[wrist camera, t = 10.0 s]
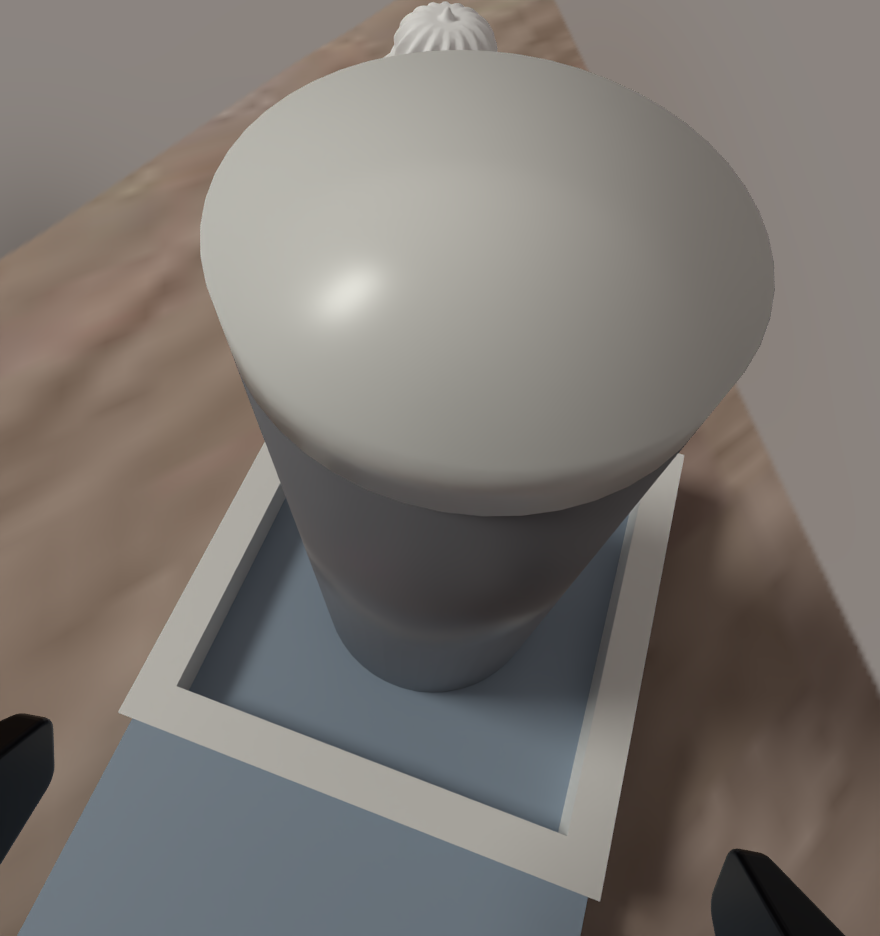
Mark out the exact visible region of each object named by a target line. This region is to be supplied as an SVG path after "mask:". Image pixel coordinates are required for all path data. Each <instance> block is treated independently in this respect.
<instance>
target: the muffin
mask: <svg viewBox="0 0 880 936" xmlns="http://www.w3.org/2000/svg"><path fill="white" fill-rule="evenodd" d="M394 44H395V45H394V46H393V48H392V50H391V52H390V54H388V55H387V56H385V57H384V58H386V57H390V56H395V55H401V54H409V53H417V52H425V51H443V50H476V51H493V52H497V44H496V40H495V37H494V33H493V30H492V29H491V27H490V25H489V23H488V22H487V21H486V20H485V19H484V18H483V17H482V16H480V15H479V14H478V13H477V12H476V11H475V10H474V9H472V8H469V7H464V6H463V5H462V4H460V3H455V4H449V3H448V2H446V1H444V2H442V3H441V4H438V3H434V2H431V3H429V4H428V6H419V7H417V8H415V10H414V11H413V12H412V13H410V14H408V15H406V16H405V17H404V18H403V20H402V21H401V23H400V28H399V29H398V30H397V32H396V33H395V35H394Z"/></svg>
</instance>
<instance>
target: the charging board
mask: <svg viewBox="0 0 880 936" xmlns="http://www.w3.org/2000/svg"><path fill="white" fill-rule="evenodd" d="M683 459H684V455H682V454H679V453H678V454H677V456H676V457H675V458H674V459H673V460H672V462H671V463H670V464H669V465H668V467H667V468H666V469H665V470H664V472H663V473H662V474H661V475H660V476H659V478H658V479H657V480H656V481H655V483H654V484H653V485H652V486H651V487H650V489H649V490H648V491H647V492H646V494H645V495H644V496H643V497H642V498H641V500H640V501H639V502H638V503H637V505H636V506H635V507H634V508H633V510H632V511H631V512H630V513H629V514H628V516H627V517H626V518H625V519H624V521H623V522H622V523H621V524H620V525H619V527H618V528H617V529H616V530H615V532H614V533H613V534H612V535H611V536H610V538H609V539H608V540H607V541H606V543H605V544H604V545H603V546H602V548H601V549H600V550H599V551H598V552H597V554H596V555H595V556H594V557H593V559H592V560H591V561H590V562H589V563H588V565H587V566H586V567H585V568H584V570H583V571H582V572H581V573H580V575H579V576H578V577H577V578H576V579H575V581H574V582H573V583H572V584H571V586H570V587H569V588H568V589H567V590H566V592H565V593H564V594H563V595H562V597H561V598H560V599H559V600H558V601H557V603H556V604H555V605H554V606H553V608H552V609H551V610H550V611H549V613H548V614H547V615H546V616H545V617H544V619H543V620H542V621H541V622H540V624H539V625H538V626H537V627H536V628H535V630H534V631H533V632H532V633H531V635H530V636H529V637H528V638H527V639H526V641H525V642H524V643H523V644H522V646H521V647H520V648H519V649H518V651H517V652H516V653H515V654H514V655H513V656H512V658H511V659H510V660H509V661H508V662H507V663H506V664H505V665H504V666H502V667H501V668H500V669H499V670H498V671H497V672H495V673H494V674H492V675H491V676H489V677H488V678H486V679H484V680H482V681H480V682H478V683H476V684H474V685H471V686H468V687H465V688H462V689H458V690H453V691H447V692H420V691H413V690H409V689H405V688H401V687H398V686H396V685H393V684H391V683H388V682H386V681H384V680H382V679H381V678H379V677H377V676H375V675H374V674H372V673H371V672H370V671H368V670H367V669H366V668H364V667H363V666H362V665H361V664H360V663H359V662H358V661H357V660H356V659H355V658H354V657H353V656H352V655H351V654H350V652H349V651H348V650H347V648H346V647H345V646H344V644H343V642H342V641H341V639H340V637H339V635H338V633H337V632H336V629H335V626H334V624H333V621H332V619H331V616H330V613H329V611H328V608H327V605H326V603H325V600H324V597H323V595H322V592H321V589H320V587H319V584H318V581H317V579H316V576H315V573H314V571H313V568H312V565H311V563H310V560H309V557H308V555H307V552H306V549H305V547H304V544H303V541H302V539H301V536H300V533H299V531H298V528H297V525H296V523H295V520H294V517H293V515H292V512H291V509H290V507H289V504H288V501H287V499H286V496H285V493H284V491H283V488H282V485H281V483H280V480H279V478H278V475H277V472H276V470H275V467H274V464H273V462H272V459H271V456H270V454H269V451H268V448H267V446H266V443H265V442H264V444H263V446H262V448H261V450H260V452H259V453H258V455H257V457H256V459H255V461H254V463H253V465H252V466H251V468H250V470H249V472H248V474H247V476H246V477H245V479H244V481H243V483H242V485H241V487H240V489H239V490H238V492H237V494H236V496H235V498H234V500H233V501H232V503H231V505H230V507H229V509H228V511H227V512H226V514H225V516H224V518H223V520H222V522H221V524H220V525H219V527H218V529H217V531H216V533H215V535H214V536H213V538H212V540H211V542H210V544H209V546H208V547H207V549H206V551H205V553H204V555H203V557H202V559H201V560H200V562H199V564H198V566H197V568H196V570H195V571H194V573H193V575H192V577H191V579H190V581H189V583H188V584H187V586H186V588H185V590H184V592H183V594H182V595H181V597H180V599H179V601H178V603H177V605H176V606H175V608H174V610H173V612H172V614H171V616H170V618H169V619H168V621H167V623H166V625H165V627H164V629H163V630H162V632H161V634H160V636H159V638H158V640H157V641H156V643H155V645H154V647H153V649H152V651H151V653H150V654H149V656H148V658H147V660H146V662H145V664H144V665H143V667H142V669H141V671H140V673H139V675H138V677H137V678H136V680H135V682H134V684H133V686H132V688H131V689H130V691H129V693H128V695H127V697H126V699H125V700H124V702H123V704H122V706H121V708H120V710H119V712H118V713H120V714H123V715H125V716H128V717H131V718H132V720H131V722H130V724H129V726H128V728H127V730H126V732H125V734H124V735H123V737H122V739H121V741H120V743H119V745H118V747H117V749H116V751H115V752H114V754H113V756H112V758H111V760H110V762H109V764H108V766H107V767H106V769H105V771H104V773H103V775H102V777H101V779H100V781H99V783H98V784H97V786H96V788H95V790H94V792H93V794H92V796H91V798H90V800H89V801H88V803H87V805H86V807H85V809H84V811H83V813H82V815H81V816H80V818H79V820H78V822H77V824H76V826H75V828H74V830H73V832H72V833H71V835H70V837H69V839H68V841H67V843H66V845H65V847H64V849H63V850H62V852H61V854H60V856H59V858H58V860H57V862H56V864H55V866H54V867H53V869H52V871H51V873H50V875H49V877H48V879H47V881H46V882H45V884H44V886H43V888H42V890H41V892H40V894H39V896H38V898H37V899H36V901H35V903H34V905H33V907H32V909H31V911H30V913H29V915H28V916H27V918H26V920H25V922H24V924H23V926H22V928H21V930H20V931H19V933H18V935H17V936H580V935H581V930H582V925H583V920H584V915H585V909H586V904H587V899H588V897H589V898H591V899H594V900H597V901H599V902H600V899H601V894H602V889H603V883H604V878H605V873H606V867H607V862H608V857H609V851H610V846H611V841H612V836H613V830H614V825H615V820H616V814H617V809H618V804H619V798H620V793H621V788H622V783H623V777H624V772H625V767H626V761H627V756H628V751H629V745H630V740H631V735H632V730H633V724H634V719H635V714H636V708H637V703H638V698H639V692H640V687H641V682H642V677H643V671H644V666H645V661H646V655H647V650H648V645H649V639H650V634H651V629H652V624H653V618H654V613H655V608H656V602H657V597H658V592H659V586H660V581H661V576H662V571H663V565H664V560H665V555H666V549H667V544H668V539H669V533H670V528H671V523H672V518H673V512H674V507H675V502H676V496H677V491H678V486H679V480H680V475H681V470H682V465H683Z"/></svg>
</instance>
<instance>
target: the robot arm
mask: <svg viewBox="0 0 880 936" xmlns="http://www.w3.org/2000/svg"><path fill="white" fill-rule="evenodd" d="M53 772H54V737H53V724H52V722H51V721H50V719H47V718H45V717H40V716H35V715H30V714H16V715H13V716H10V717H8V718H6V719H4V720H1V721H0V864H1V863H2V861H3V859H4V858H5V856H6V854H7V853H8V851H9V850H10V848H11V846H12V845H13V843H14V842H15V840H16V838H17V837H18V835H19V833H20V832H21V830H22V829H23V827H24V825H25V824H26V822H27V820H28V819H29V817H30V816H31V814H32V812H33V811H34V809H35V807H36V806H37V804H38V803H39V801H40V799H41V798H42V796H43V794H44V793H45V791H46V790H47V788H48V786H49V784H50V782H51V779H52V776H53ZM711 914H712V920H713V926H714V931H715V936H845V935H844V934H843V933H842V932H841V931H840V930H839V929H838V928H837V927H836V926H835V925H834V924H833V923H832V922H831V921H830V920H829V919H828V918H827V917H826V916H825V914H824V913H823V912H822V911H821V910H820V909H819V908H818V907H817V906H816V905H815V904H814V903H813V902H812V901H811V900H810V899H809V898H808V897H807V896H806V895H805V894H804V893H803V892H802V891H801V890H800V889H799V888H798V887H797V886H796V885H795V884H794V883H793V882H792V881H791V879H790V878H789V877H788V876H787V875H786V874H785V873H784V872H783V871H782V870H781V869H780V868H779V867H778V866H777V865H776V864H775V863H774V862H773V861H772V860H771V859H770V858H769V857H768V856H766V855H764V854H762V853H758V852H753V851H748V850H743V849H732V850H731V851H730V852H729V853H728V855H727V857H726V859H725V862H724V865H723V867H722V870H721V872H720V875H719V878H718V880H717V883H716V885H715V888H714V891H713V894H712V899H711Z"/></svg>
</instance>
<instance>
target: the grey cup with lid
mask: <svg viewBox="0 0 880 936" xmlns="http://www.w3.org/2000/svg"><path fill="white" fill-rule="evenodd" d="M200 254H201V261H202V266H203V271H204V276H205V281H206V286H207V288H208V291H209V294H210V296H211V299H212V302H213V304H214V307H215V310H216V312H217V315H218V318H219V320H220V323H221V326H222V328H223V331H224V334H225V336H226V339H227V342H228V344H229V347H230V350H231V352H232V355H233V358H234V360H235V363H236V366H237V368H238V371H239V374H240V376H241V379H242V382H243V384H244V387H245V390H246V392H247V395H248V398H249V400H250V403H251V406H252V408H253V411H254V414H255V416H256V419H257V422H258V424H259V427H260V430H261V432H262V435H263V438H264V440H265V443H266V446H267V448H268V451H269V454H270V456H271V459H272V462H273V464H274V467H275V470H276V472H277V475H278V478H279V480H280V483H281V485H282V488H283V491H284V493H285V496H286V499H287V501H288V504H289V507H290V509H291V512H292V515H293V517H294V520H295V523H296V525H297V528H298V531H299V533H300V536H301V539H302V541H303V544H304V547H305V549H306V552H307V555H308V557H309V560H310V563H311V565H312V568H313V571H314V573H315V576H316V579H317V581H318V584H319V587H320V589H321V592H322V595H323V597H324V600H325V603H326V605H327V608H328V611H329V613H330V616H331V619H332V621H333V624H334V626H335V629H336V632H337V633H338V635H339V637H340V639H341V641H342V642H343V644H344V646H345V647H346V648H347V650H348V651H349V652H350V654H351V655H352V656H353V657H354V658H355V659H356V660H357V661H358V662H359V663H360V664H361V665H362V666H363V667H364V668H366V669H367V670H368V671H370V672H371V673H372V674H374V675H375V676H377V677H379V678H381V679H382V680H384V681H386V682H388V683H391V684H393V685H396V686H398V687H401V688H405V689H409V690H413V691H420V692H447V691H453V690H458V689H462V688H465V687H468V686H471V685H474V684H476V683H478V682H480V681H482V680H484V679H486V678H488V677H489V676H491V675H492V674H494V673H495V672H497V671H498V670H499V669H500V668H501V667H502V666H504V665H505V664H506V663H507V662H508V661H509V660H510V659H511V658H512V656H513V655H514V654H515V653H516V652H517V651H518V649H519V648H520V647H521V646H522V644H523V643H524V642H525V641H526V639H527V638H528V637H529V636H530V635H531V633H532V632H533V631H534V630H535V628H536V627H537V626H538V625H539V624H540V622H541V621H542V620H543V619H544V617H545V616H546V615H547V614H548V613H549V611H550V610H551V609H552V608H553V606H554V605H555V604H556V603H557V601H558V600H559V599H560V598H561V597H562V595H563V594H564V593H565V592H566V590H567V589H568V588H569V587H570V586H571V584H572V583H573V582H574V581H575V579H576V578H577V577H578V576H579V575H580V573H581V572H582V571H583V570H584V568H585V567H586V566H587V565H588V563H589V562H590V561H591V560H592V559H593V557H594V556H595V555H596V554H597V552H598V551H599V550H600V549H601V548H602V546H603V545H604V544H605V543H606V541H607V540H608V539H609V538H610V536H611V535H612V534H613V533H614V532H615V530H616V529H617V528H618V527H619V525H620V524H621V523H622V522H623V521H624V519H625V518H626V517H627V516H628V514H629V513H630V512H631V511H632V510H633V508H634V507H635V506H636V505H637V503H638V502H639V501H640V500H641V498H642V497H643V496H644V495H645V494H646V492H647V491H648V490H649V489H650V487H651V486H652V485H653V484H654V483H655V481H656V480H657V479H658V478H659V476H660V475H661V474H662V473H663V472H664V470H665V469H666V468H667V467H668V465H669V464H670V463H671V462H672V460H673V459H674V458H675V457H676V456H677V454H678V453H679V452H680V451H681V449H682V448H683V447H684V446H685V445H686V443H687V442H688V441H689V440H690V438H691V437H692V436H693V435H694V434H695V432H696V431H697V430H698V429H699V427H700V426H701V425H702V424H703V422H704V421H705V420H706V419H707V418H708V416H709V415H710V414H711V413H712V411H713V410H714V409H715V408H716V407H717V405H718V404H719V403H720V402H721V400H722V399H723V398H724V397H725V396H726V394H727V393H728V392H729V391H730V389H731V388H732V387H733V386H734V384H735V383H736V382H737V381H738V380H739V378H740V377H741V376H742V375H743V373H744V372H745V371H746V369H747V367H748V366H749V364H750V362H751V361H752V359H753V357H754V355H755V354H756V352H757V350H758V349H759V347H760V345H761V342H762V340H763V337H764V334H765V331H766V328H767V325H768V323H769V320H770V316H771V310H772V303H773V297H774V290H775V288H774V261H773V256H772V251H771V247H770V242H769V237H768V234H767V231H766V229H765V226H764V223H763V221H762V218H761V215H760V213H759V210H758V208H757V206H756V205H755V203H754V201H753V199H752V197H751V196H750V194H749V192H748V190H747V188H746V187H745V185H744V184H743V182H742V181H741V180H740V178H739V177H738V176H737V174H736V173H735V172H734V170H733V169H732V168H731V166H730V165H729V163H728V162H727V161H726V160H725V159H724V158H723V157H722V156H721V155H720V154H719V153H718V152H717V151H716V150H715V149H714V148H713V146H712V145H711V144H710V143H709V142H708V141H706V140H705V139H704V138H703V137H702V136H701V135H699V134H698V133H697V132H696V131H695V130H694V129H692V128H691V127H690V126H689V125H688V124H687V123H685V122H684V121H682V120H681V119H679V118H678V117H677V116H675V115H674V114H672V113H671V112H669V111H668V110H666V109H665V108H664V107H662V106H661V105H659V104H657V103H655V102H653V101H652V100H650V99H648V98H646V97H645V96H643V95H641V94H639V93H638V92H636V91H634V90H632V89H629V88H627V87H625V86H623V85H621V84H618V83H616V82H614V81H612V80H610V79H607V78H605V77H602V76H599V75H596V74H593V73H591V72H588V71H585V70H582V69H580V68H576V67H572V66H569V65H565V64H561V63H558V62H554V61H550V60H546V59H541V58H535V57H530V56H525V55H520V54H511V53H502V52H493V51H476V50H443V51H425V52H417V53H409V54H401V55H395V56H390V57H386V58H381V59H376V60H372V61H367V62H364V63H361V64H358V65H354V66H351V67H348V68H345V69H342V70H339V71H336V72H334V73H332V74H329V75H327V76H325V77H322V78H320V79H317V80H315V81H313V82H311V83H309V84H307V85H306V86H304V87H302V88H300V89H298V90H296V91H295V92H293V93H291V94H289V95H288V96H286V97H285V98H283V99H282V100H281V101H279V102H278V103H276V104H275V105H274V106H272V107H271V108H269V109H268V110H267V111H265V112H264V113H263V114H262V115H261V116H260V117H259V118H258V119H257V120H256V121H254V122H253V123H252V124H251V125H250V126H249V127H248V128H247V129H246V130H245V131H244V132H243V133H242V135H241V136H240V137H239V138H238V140H237V141H236V142H235V143H234V145H233V146H232V147H231V148H230V150H229V151H228V152H227V154H226V156H225V157H224V159H223V161H222V163H221V164H220V166H219V168H218V170H217V171H216V173H215V175H214V177H213V180H212V183H211V185H210V188H209V191H208V194H207V196H206V199H205V203H204V209H203V215H202V220H201V226H200Z"/></svg>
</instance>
